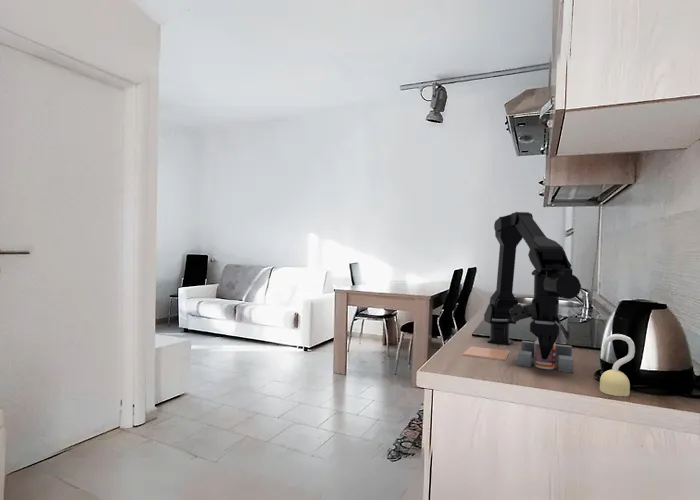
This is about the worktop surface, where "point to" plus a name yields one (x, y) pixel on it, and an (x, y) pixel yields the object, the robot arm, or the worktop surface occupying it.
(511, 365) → the worktop surface
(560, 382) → the worktop surface
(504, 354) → the tile
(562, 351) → the vise
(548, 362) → the pill bottle
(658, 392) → the worktop surface
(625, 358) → the hook
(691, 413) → the worktop surface
